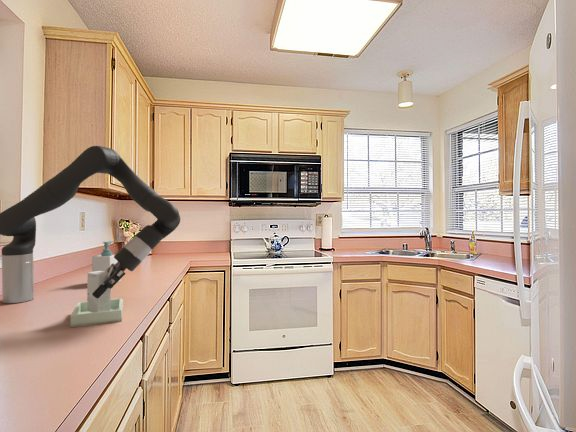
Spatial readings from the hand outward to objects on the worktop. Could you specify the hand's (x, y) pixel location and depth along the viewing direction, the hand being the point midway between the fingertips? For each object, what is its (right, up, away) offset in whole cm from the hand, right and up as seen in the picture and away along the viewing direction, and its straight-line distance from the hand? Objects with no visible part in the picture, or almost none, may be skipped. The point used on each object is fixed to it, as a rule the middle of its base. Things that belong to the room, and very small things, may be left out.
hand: (93, 294), depth 108 cm
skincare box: (+1, -6, +1) cm, 6 cm away
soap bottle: (-23, -7, +53) cm, 59 cm away
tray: (+1, -7, +1) cm, 7 cm away
